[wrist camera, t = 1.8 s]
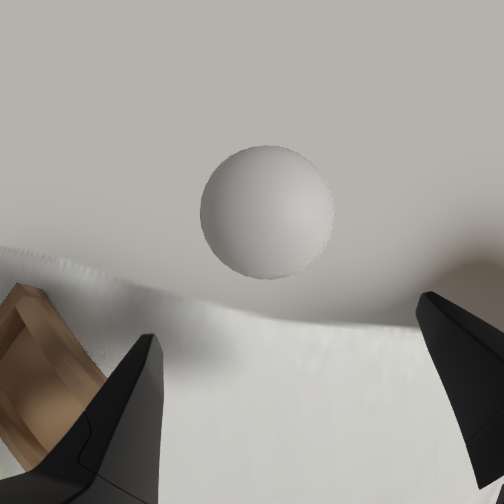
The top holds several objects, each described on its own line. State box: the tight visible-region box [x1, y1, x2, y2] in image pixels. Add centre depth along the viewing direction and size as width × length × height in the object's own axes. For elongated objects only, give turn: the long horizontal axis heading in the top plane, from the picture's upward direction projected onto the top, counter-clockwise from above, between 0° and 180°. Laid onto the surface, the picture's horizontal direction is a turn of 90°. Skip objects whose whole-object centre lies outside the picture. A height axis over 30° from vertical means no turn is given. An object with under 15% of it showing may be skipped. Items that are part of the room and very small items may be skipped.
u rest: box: [0, 283, 107, 472], centre depth 17 cm, size 11×11×4 cm
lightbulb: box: [200, 146, 335, 280], centre depth 17 cm, size 6×6×11 cm
